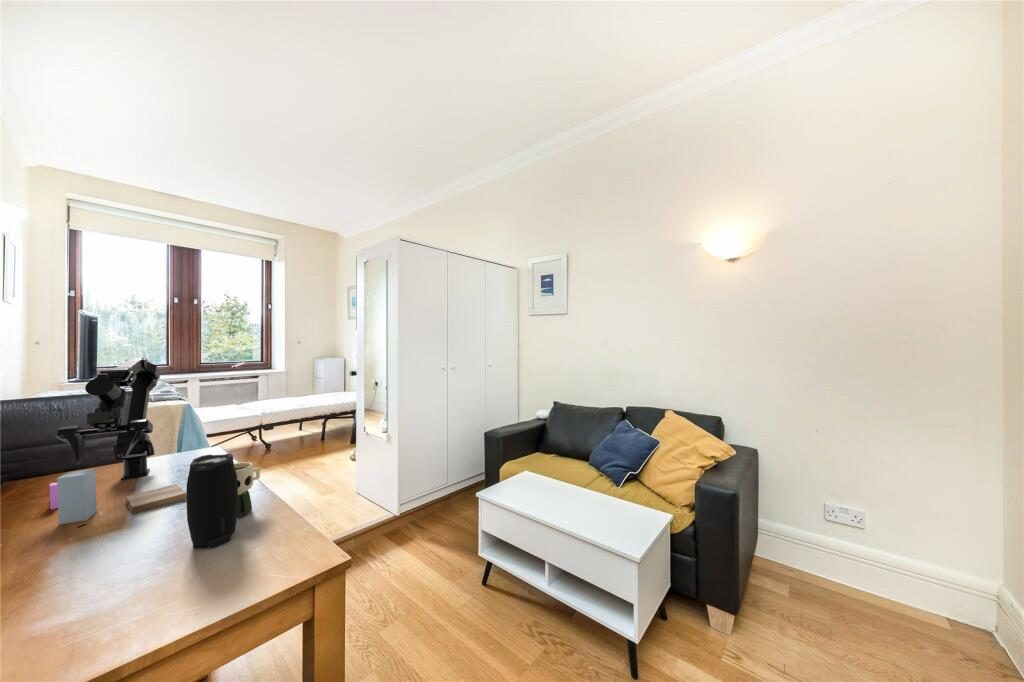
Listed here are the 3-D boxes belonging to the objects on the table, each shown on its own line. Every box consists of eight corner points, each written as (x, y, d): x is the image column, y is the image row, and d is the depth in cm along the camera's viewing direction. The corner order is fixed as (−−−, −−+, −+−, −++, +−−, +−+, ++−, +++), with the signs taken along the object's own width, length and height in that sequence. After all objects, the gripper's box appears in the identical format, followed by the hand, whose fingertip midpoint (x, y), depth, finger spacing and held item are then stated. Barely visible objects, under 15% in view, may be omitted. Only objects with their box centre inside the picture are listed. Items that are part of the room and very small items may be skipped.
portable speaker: (188, 540, 88) (186, 457, 87) (237, 526, 94) (235, 449, 93) (187, 556, 81) (184, 467, 81) (240, 541, 87) (238, 457, 87)
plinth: (126, 503, 107) (125, 496, 107) (176, 490, 116) (176, 483, 116) (133, 514, 100) (132, 507, 100) (186, 499, 109) (186, 492, 109)
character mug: (218, 527, 93) (217, 475, 93) (207, 519, 97) (206, 470, 97) (266, 509, 102) (265, 463, 102) (254, 503, 106) (253, 458, 106)
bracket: (81, 503, 108) (80, 479, 107) (50, 510, 103) (49, 485, 103) (79, 491, 116) (79, 469, 116) (51, 497, 112) (50, 474, 111)
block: (70, 516, 100) (69, 471, 99) (96, 511, 102) (95, 468, 102) (58, 524, 95) (57, 478, 95) (86, 520, 97) (84, 474, 97)
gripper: (51, 401, 101) (37, 459, 95) (145, 395, 111) (138, 447, 105) (70, 414, 110) (58, 468, 103) (156, 407, 119) (149, 456, 113)
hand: (102, 459), depth 106 cm, fingers open, 9 cm apart
